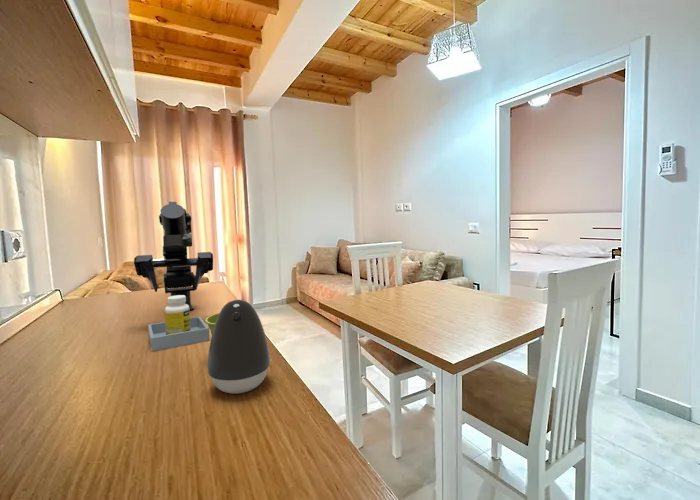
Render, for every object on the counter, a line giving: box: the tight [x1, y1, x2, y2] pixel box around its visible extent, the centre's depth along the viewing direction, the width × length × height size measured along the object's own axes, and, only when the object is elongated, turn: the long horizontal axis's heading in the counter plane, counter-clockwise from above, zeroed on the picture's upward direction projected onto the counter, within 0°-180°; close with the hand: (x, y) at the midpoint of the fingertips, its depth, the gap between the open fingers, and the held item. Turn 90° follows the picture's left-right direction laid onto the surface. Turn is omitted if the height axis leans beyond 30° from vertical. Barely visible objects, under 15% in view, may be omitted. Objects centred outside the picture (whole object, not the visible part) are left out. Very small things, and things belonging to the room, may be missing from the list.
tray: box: [147, 316, 211, 352], centre depth 82 cm, size 12×12×3 cm
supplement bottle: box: [164, 295, 191, 335], centre depth 82 cm, size 5×5×10 cm
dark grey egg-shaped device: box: [207, 299, 271, 395], centre depth 57 cm, size 10×10×15 cm
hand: (176, 289), depth 86 cm, fingers open, 9 cm apart
